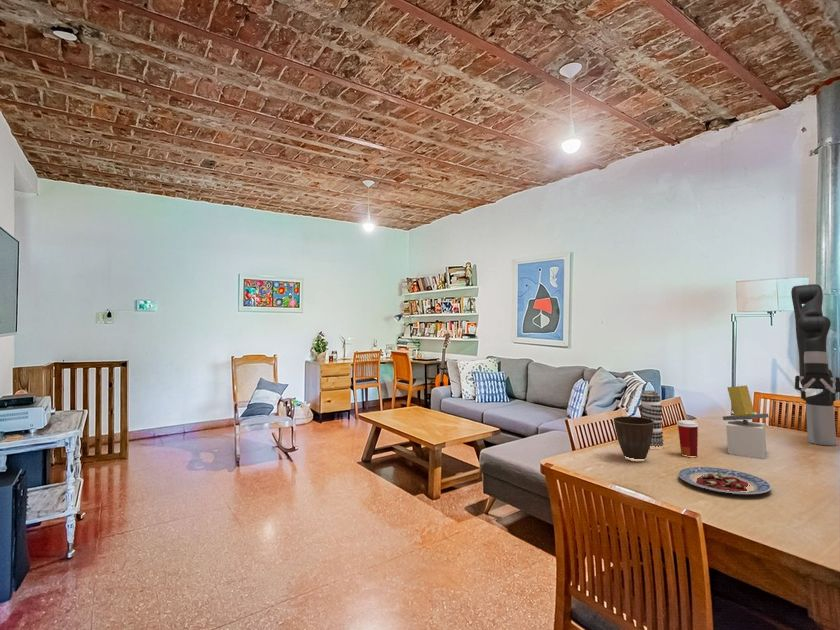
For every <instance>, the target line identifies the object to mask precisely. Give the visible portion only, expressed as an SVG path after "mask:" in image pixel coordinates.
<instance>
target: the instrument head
mask: <svg viewBox="0 0 840 630" xmlns="http://www.w3.org/2000/svg"><path fill="white" fill-rule="evenodd" d="M727 392H728V396H729V399H730V404H731V407H732V411H733V415H724V416H722V420H723V421H729V420H735V421H743V420H756V419H766V418H769V417H770V416H769V413H759V412H755V411H754V407H753V402H752V399H751V395H750V391H749V387H748V385H738V386H727Z"/></svg>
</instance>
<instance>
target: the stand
mask: <svg viewBox="0 0 840 630" xmlns="http://www.w3.org/2000/svg"><path fill="white" fill-rule="evenodd" d="M765 424H766V423H764V422H756V421H755V422H754V421H749V419H747V420H728V422H727V423H726V427H725V428H726V442H727V454H728V453H729V455H733V454H735V455H734V456H740V455H741V456H742V457H748V456H749V457H750V458H755V457H756V459H762V458H764V459H763V460H765V458H766V455H767V442H766V440H767V439H766V425H765Z"/></svg>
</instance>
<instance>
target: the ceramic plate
mask: <svg viewBox="0 0 840 630" xmlns="http://www.w3.org/2000/svg"><path fill="white" fill-rule="evenodd" d="M677 474H678V477H679V478H680V479H681V480H683V481H684V482H686V483H688V484H690V485H692V486H695V487H698V488H701V489H704V488H705V490H708V489H709V490H708V491H711V490H713V491H712V492H715V491H719V492H718V493H720V492H725V493H724V494H727V493H732V494H731V495H760V494H764V493H768V492H770V491H771V489H772V485H771V484H770V483H769V482H768V481H767V480H765V479H763V478H762V477H759V476H757V475H754V474H751V473H747V472H743V471H739V470H734V469H728V468H721V467H711V466H710V467H709V466H695V467H688V468H687V467H686V468H684V469H681V470H679V471H678V473H677ZM698 475H702V476H701V477H699V478H697V481H696V483H695V482H694V481H693V478H694V477H695V476H698ZM703 475H704V476H703ZM717 476H718V477H717ZM748 483H749V484H751V486H753V487H754V490H753V491H749V492H740V491H747V489H746V487H747V486H748ZM749 486H750V485H749ZM727 490H729V491H727Z"/></svg>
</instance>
